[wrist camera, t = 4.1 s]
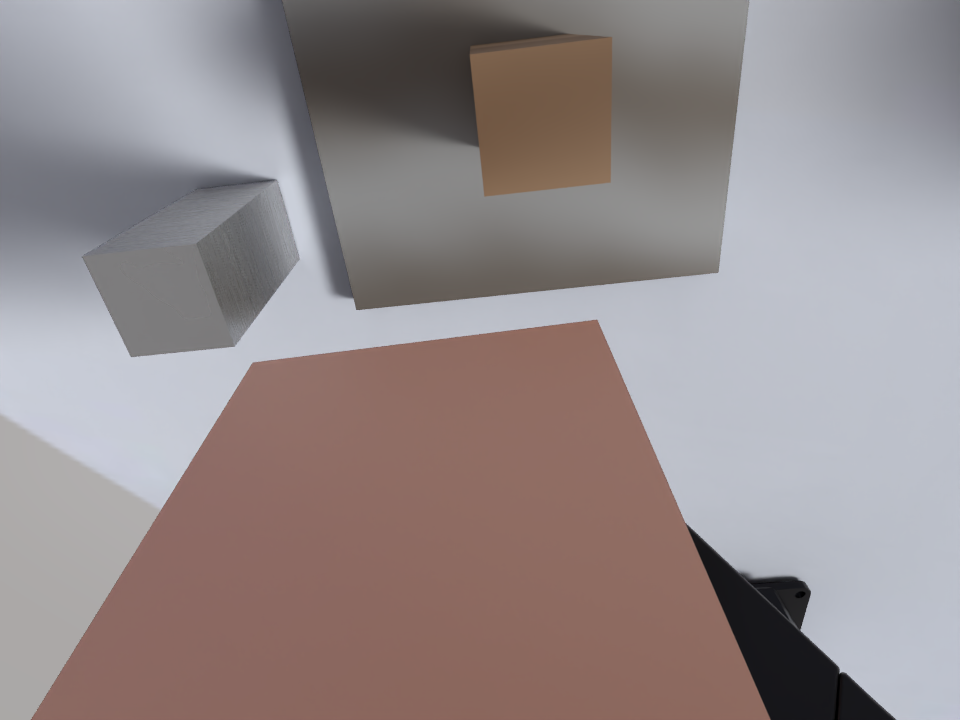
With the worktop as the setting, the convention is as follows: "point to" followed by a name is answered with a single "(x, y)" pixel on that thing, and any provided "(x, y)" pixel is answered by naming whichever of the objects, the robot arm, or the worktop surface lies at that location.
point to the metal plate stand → (521, 139)
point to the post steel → (196, 269)
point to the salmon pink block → (418, 553)
